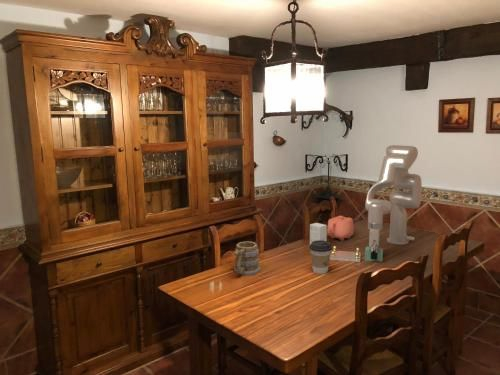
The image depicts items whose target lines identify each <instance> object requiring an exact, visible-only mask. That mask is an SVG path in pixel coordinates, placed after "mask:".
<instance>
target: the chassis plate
mask: <svg viewBox="0 0 500 375" xmlns="http://www.w3.org/2000/svg"><path fill="white" fill-rule="evenodd" d="M361 256H362V253H361V252H360V247H356V248H355V251H346V250H337V246H336V245H333V246H332V250H331V253H330V260H329V261H345V262H355V263H360V262H361Z"/></svg>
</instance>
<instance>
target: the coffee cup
mask: <svg viewBox="0 0 500 375" xmlns="http://www.w3.org/2000/svg"><path fill="white" fill-rule="evenodd" d="M308 249H309V250H310V256H311V257H310V258H311V266H312V271H313V273H314V274H317V275H325V274H327V273H328V271H329V266H330V261H331V260H330V255H331V251H332V250H333V246H332V245H331V243H330V242H329V241H323V240H317V241H313V242H312V243H311V245H310V244H309V248H308Z"/></svg>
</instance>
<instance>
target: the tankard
mask: <svg viewBox="0 0 500 375" xmlns="http://www.w3.org/2000/svg"><path fill="white" fill-rule="evenodd" d="M235 247H236V248H235V249H234V253H233V254H234V256H235V260H234V263H236V266H234V267H233V271H234V270H235V271H234V272H235V273H236V275H240V274H241V275H242V276H246V275H247V276H251V275H252V276H253V274H254V275H257V274H258V273H259V272H260V271H261V266H259V263H260V258H259V257H258V255H259V254H260V249H259V248H258V243H256V242H255V241H249V240H248V241H240V242H238V243H237V244H235ZM241 275H240V276H241Z"/></svg>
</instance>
